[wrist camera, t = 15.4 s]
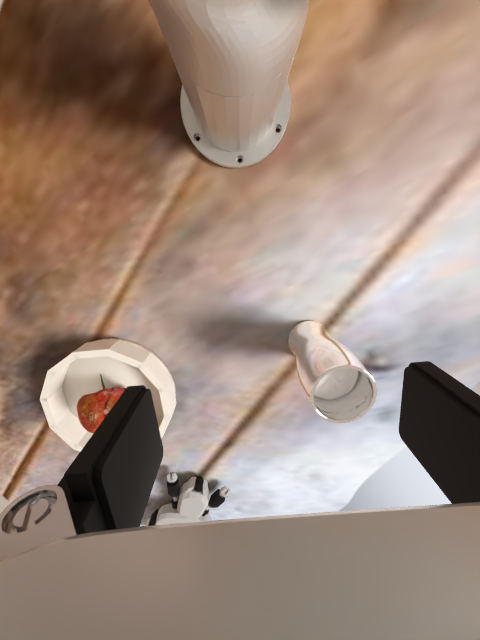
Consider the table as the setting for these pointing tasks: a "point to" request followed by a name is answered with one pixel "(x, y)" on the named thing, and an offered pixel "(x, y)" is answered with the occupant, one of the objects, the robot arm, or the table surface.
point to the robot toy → (188, 502)
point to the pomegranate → (97, 406)
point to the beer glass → (331, 374)
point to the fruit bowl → (117, 371)
